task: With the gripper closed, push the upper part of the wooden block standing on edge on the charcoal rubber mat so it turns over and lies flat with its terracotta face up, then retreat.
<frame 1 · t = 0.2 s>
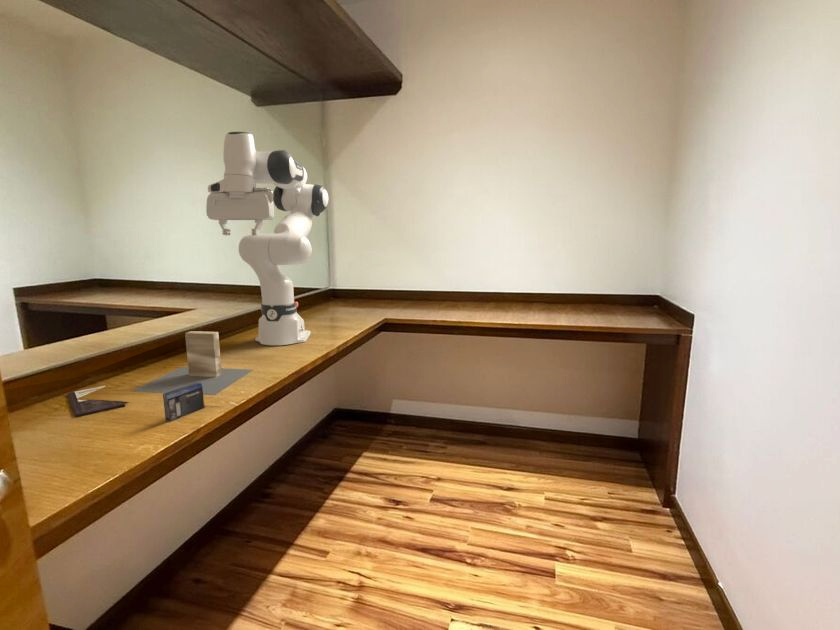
hand: (240, 235, 129), 39 cm above the counter, tool pointing down, fingers open, 8 cm apart
wooden block: (205, 374, 120), point 1 cm above the counter, touching mat
mat: (197, 381, 116), on the counter
mini dv tape: (185, 415, 96), on the counter
chocolate bar: (95, 403, 103), on the counter
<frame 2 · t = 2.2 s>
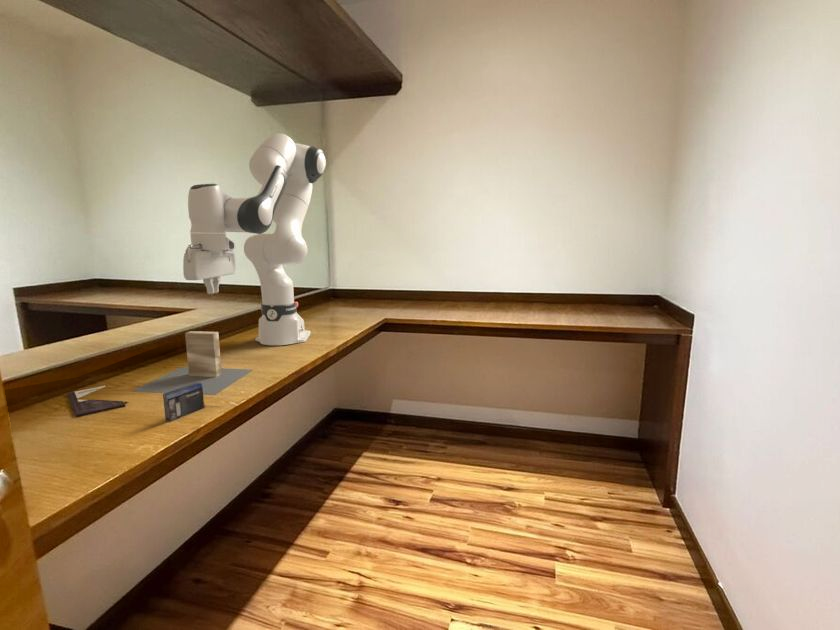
hand: (213, 293, 123), 22 cm above the counter, tool pointing down, fingers closed
nothing on the counter moved.
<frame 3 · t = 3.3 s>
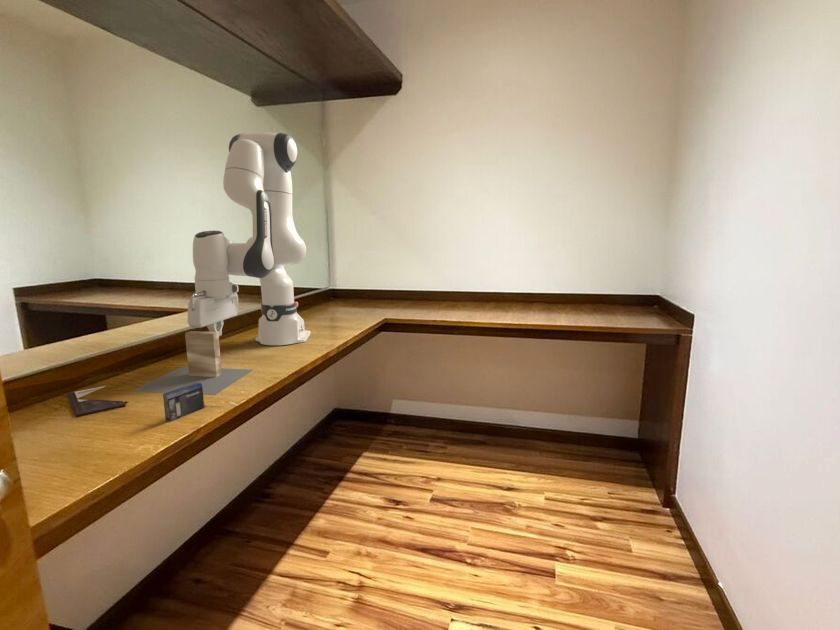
hand: (216, 336, 125), 10 cm above the counter, tool pointing down, fingers closed
nothing on the counter moved.
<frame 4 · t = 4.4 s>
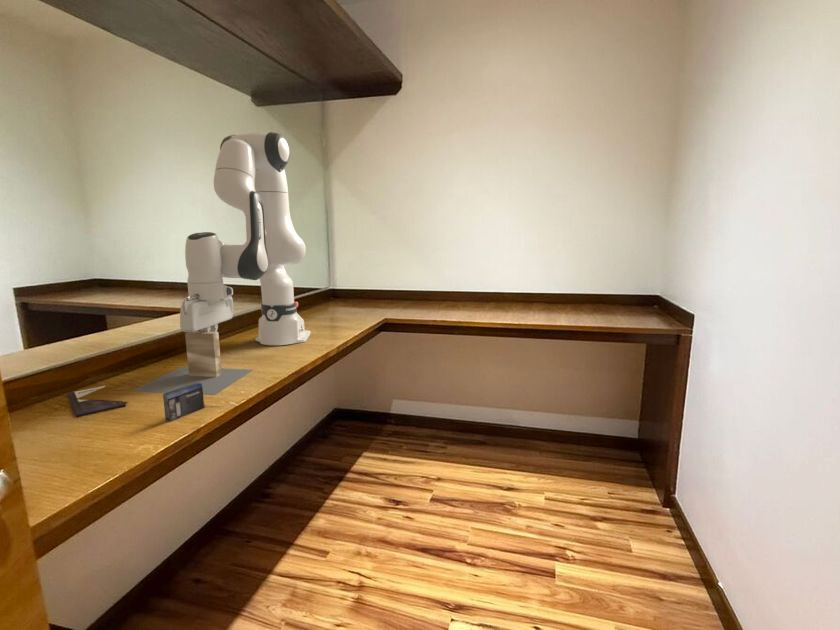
hand: (210, 341, 122), 9 cm above the counter, tool pointing down, fingers closed
wooden block: (205, 374, 120), point 1 cm above the counter, touching gripper, mat
everything else where it was.
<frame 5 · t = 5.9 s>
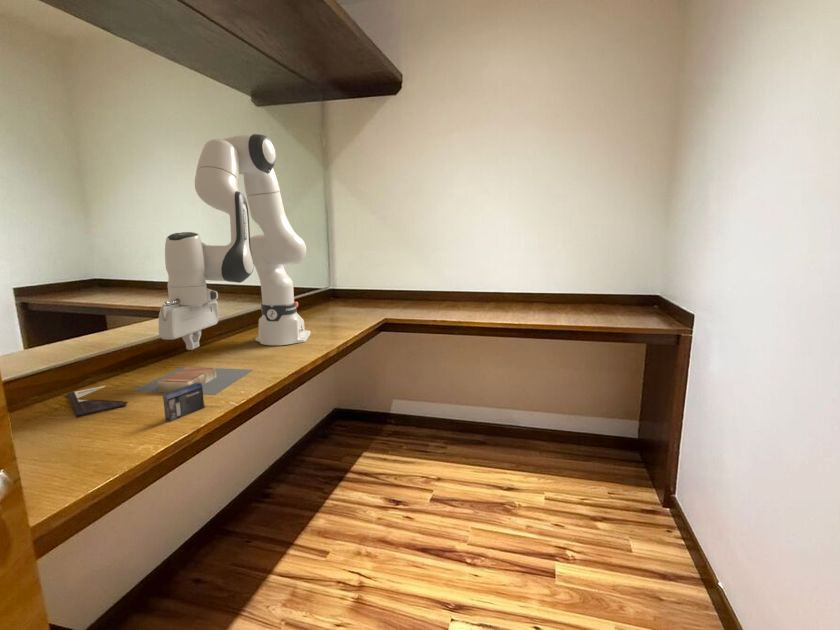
hand: (193, 348, 114), 9 cm above the counter, tool pointing down, fingers closed
wooden block: (202, 372, 118), point 2 cm above the counter, tilted 90°, touching mat
everything else where it was.
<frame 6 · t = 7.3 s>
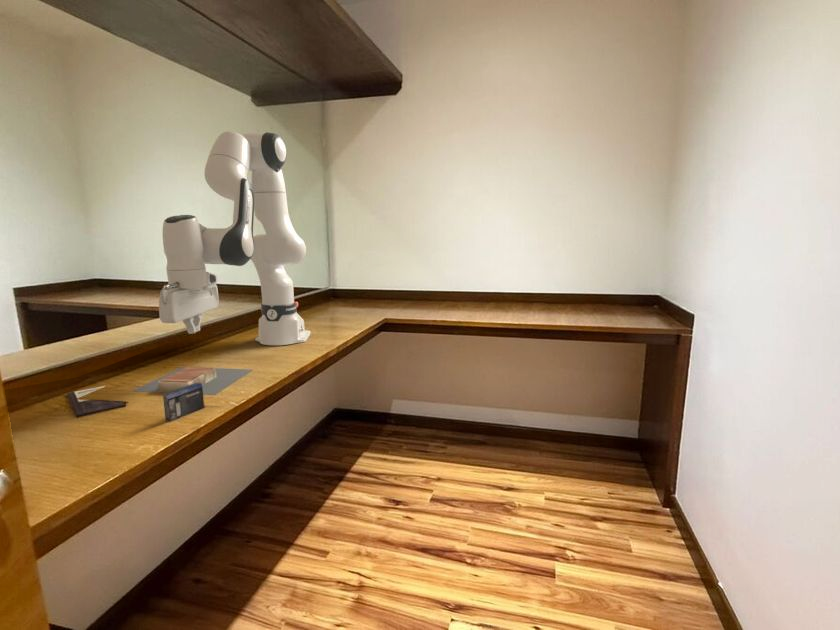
hand: (194, 332, 114), 14 cm above the counter, tool pointing down, fingers closed
nothing on the counter moved.
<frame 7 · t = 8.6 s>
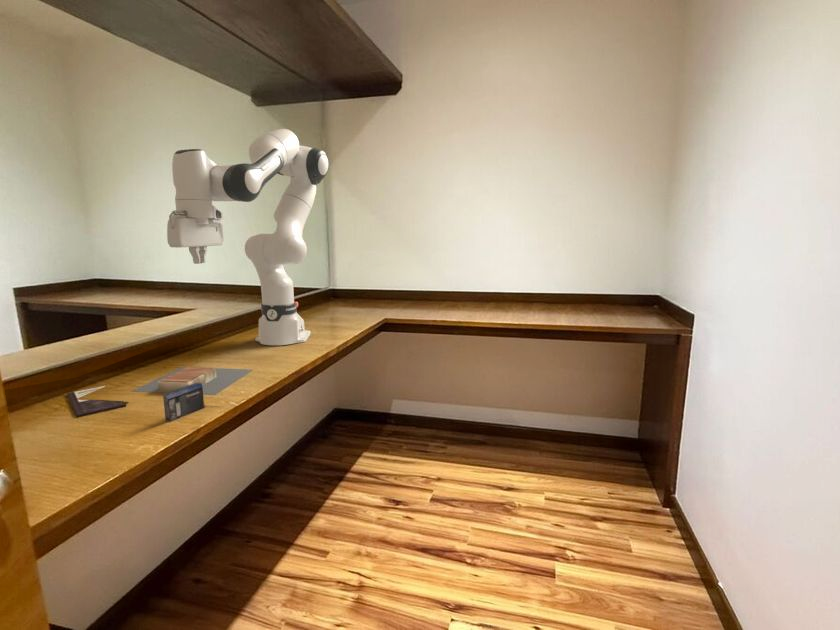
hand: (199, 263, 119), 31 cm above the counter, tool pointing down, fingers closed
nothing on the counter moved.
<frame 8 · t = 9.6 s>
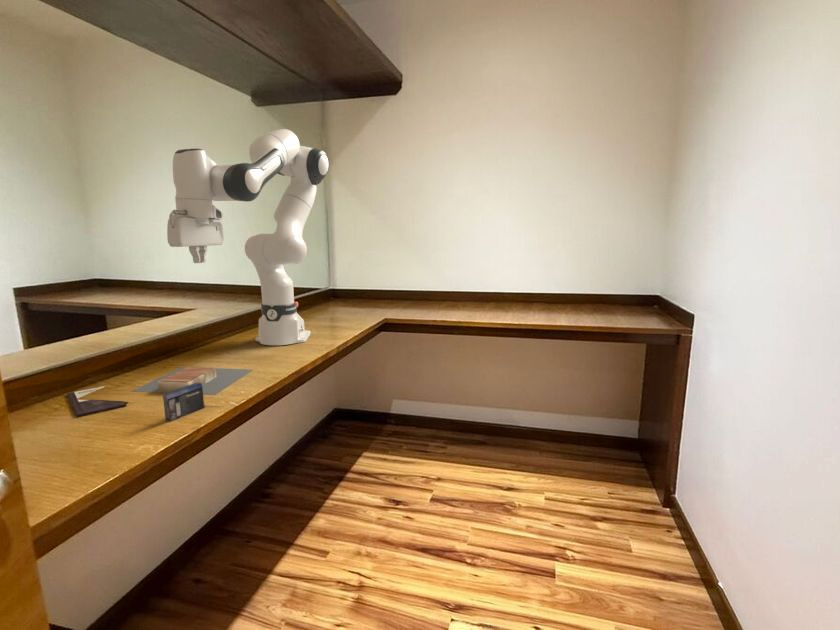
hand: (199, 262, 119), 31 cm above the counter, tool pointing down, fingers closed
nothing on the counter moved.
at the end: wooden block tilted 90°; wooden block inside the target area (2.6 cm from its centre), point 1.8 cm above the counter; wooden block touching mat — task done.
